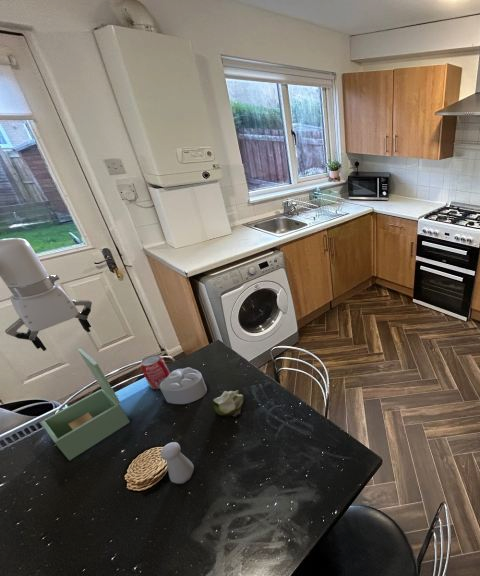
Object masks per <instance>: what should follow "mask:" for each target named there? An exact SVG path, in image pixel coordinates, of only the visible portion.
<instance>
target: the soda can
mask: <svg viewBox="0 0 480 576" xmlns="http://www.w3.org/2000/svg"><path fill="white" fill-rule="evenodd" d="M140 369H141V372H142V374H143V376H144V378H145V380H146V381H147V384H148V385H149V387H150V388H151V389H153V390H161V389H160V383H161V382H162V381H164V380H165V379H166V378H167V377H168V375H169V374H170V373H171V371H170V370H169V368H168V366H167V363H166V361H165V360H164V358H163V357H161V356H160V355H159V354H151V355H148V356H146V357H144V358H143V359H142V360H141V361H140Z"/></svg>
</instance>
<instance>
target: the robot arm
mask: <svg viewBox="0 0 480 576" xmlns="http://www.w3.org/2000/svg"><path fill="white" fill-rule="evenodd" d="M0 278H1V279H2V281H3V282H4V284H5V286H6V287H7V288H8V290H9V291H10V292H11V294H12V295H11V296H10V302H11V304H12V306H13V308H14V310H15V312H16V314H17V315H18V317H19V318H18V319H17V320H16V321H14V322H13V323H12V324H10V325H9V327H7V328H6V329H5V330H4V332H5V334H6V335H9V336H11V337H15V338H16V339H19V340H27V341H31V343H32V344H33V346H34V347H35V348H36V349H37V350H39V349H41V350H42V351H43V352H45V351H47V347H46V346H45V344H44V343H43V341H42V340H41V339H40V338H39V336H38V334H39V332H40V331H43V330H46V329H48V328H51V327H53V326H56V325H59V324H62V323H64V322H68V321H69V320H72V319H74V318H76V319H77V320H78V322H79V323H80V325H81V327H82V329H83V330H84V331H85V332H87V333H90V332H91V329H90V328H92V325H91V323H90V321H89V320H88V318H89V315H90V314H91V311H92V305H93V302H92V301H91V300H89V299H73V300H72V299H71V298H70V296H69V295H68V294H67V293H66V291H65V290H64V289H63V288H62V287H61V286H60V285H59V284H58V283H56V282H57V281H59V280H60V277H59V276H58V275H57V274H55V275H49V273H48V271H47V270H46V268H45V266H44V265H43V264H42V262H41V260H40V258H39V257H38V255H37V253H36V251H35V250H34V247H32V245H31V244H30V242H29V241H28V240H26V239H24V238H21V237H10V238H2V239H0ZM77 306H80V307H81V306H83V308H82V310H81V312H80V311H79V309H77ZM22 326H25V327H26V328H27V331H26V332H23V331H18V330H19V329H20V328H21V327H22Z"/></svg>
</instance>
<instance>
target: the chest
mask: <svg viewBox="0 0 480 576" xmlns="http://www.w3.org/2000/svg"><path fill="white" fill-rule="evenodd" d="M86 413H89V414H90V415H91V416H92V417H93V419H91V420H89V421H88V422H86V423H84V424H82V425H81V426H79V427H77V428H76V429H74V430H72V428H71V427H70V426H69V423H71V422H72V421H74V420H76V419H78V418H79V417H81V416H83V415H85V414H86ZM129 423H131V421H130V420H129V418H128V416H127V414H126V412H125V411H124V409H123V407H122V406H121V403H119V404H117V403H116V402H115V401H114V400H113V399H112V398H111V397H110V396H109V395H108V394H107V393H106V392H105V391H104V390H103V389H102V388H101V389H98V390H97V391H95V392H93V393H91V394H89V395H87V396H85V397H83V398H81V399H80V400H78V401H76V402H74V403H72V404H71V405H68V406H67V407H65V408H63V409H61V410H59V411H57V412H55V413H54V414H52V415H49V416H48V417H46V418H45V419H42V420H40V424H41V425H42V427H43V428H44V429H45V431H46V432H47V434H48V435H49V437H50V439H52V441H53V443H54V444H55V445H56V446H57V448H58V449H59V450H60V451H61V452H62V454H63V455H64V456H65V457H66V458H67V460H68V461H72V460H73V459H74V458H76V457H77V456H79V455H80V454H83V453H84V452H86V451H87V450H88V449H90V448H92V447H93V446H95V445H97V444H98V443H99V442H101V441H103V440H105V439H106V438H108V437H109V436H111V435H112V434H114V433H115V432H117V431H118V430H120V429H121V428H123V427H125V426H126V425H128V424H129Z"/></svg>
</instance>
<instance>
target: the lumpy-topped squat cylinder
mask: <svg viewBox="0 0 480 576" xmlns="http://www.w3.org/2000/svg"><path fill="white" fill-rule="evenodd" d="M159 390H160V391H161V393H162V394H163V398H164V399H165V401H166V403H168V404H174V405H186V404H190V403H193V402H195V401H198V400H199V399H201V398H203V397H204V396H205V395H206V394H207V392H208V388H207V385H206V383H205V380H204V377H203V374H202V373H201V372H200V371H199V370H197V369H194V368H192V367H185V368H177V369H175V370H174V369H173V370H172V371H170V374H169V375H168V377H167V378H166V379H165V380H164V381H162V382H161V383H160V389H159Z"/></svg>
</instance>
